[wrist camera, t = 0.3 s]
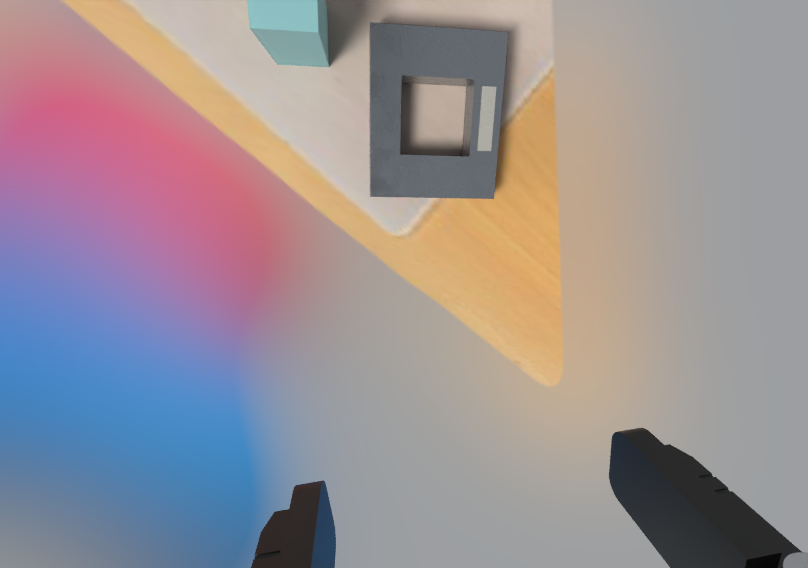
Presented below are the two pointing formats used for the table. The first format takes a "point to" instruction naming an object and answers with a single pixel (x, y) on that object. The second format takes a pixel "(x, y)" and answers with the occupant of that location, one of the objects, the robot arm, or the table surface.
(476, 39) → the rail plate
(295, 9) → the teal peg
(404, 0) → the table surface
